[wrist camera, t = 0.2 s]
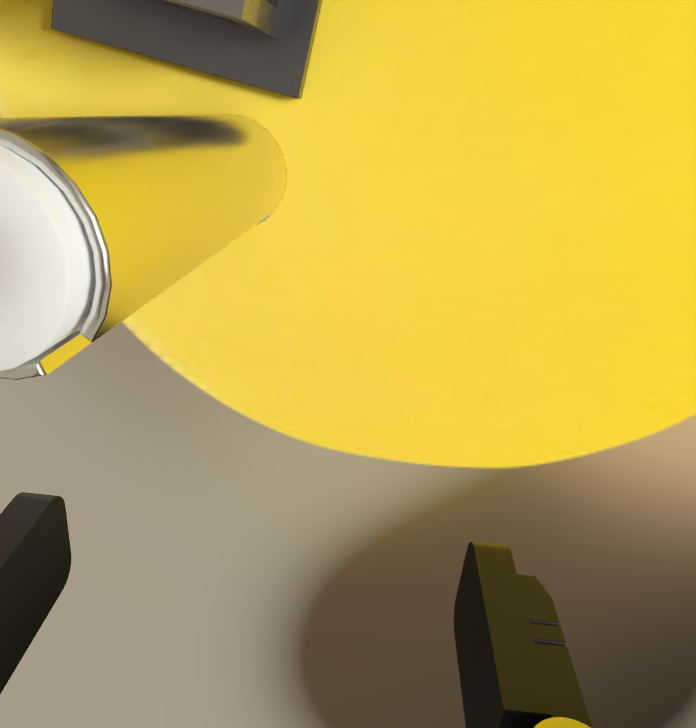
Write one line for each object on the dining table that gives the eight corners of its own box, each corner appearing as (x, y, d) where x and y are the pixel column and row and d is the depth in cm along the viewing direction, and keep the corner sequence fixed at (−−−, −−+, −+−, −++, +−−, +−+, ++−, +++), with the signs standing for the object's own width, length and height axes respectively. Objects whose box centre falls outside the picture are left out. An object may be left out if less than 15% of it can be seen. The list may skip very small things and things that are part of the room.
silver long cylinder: (189, 231, 40) (-126, 400, 16) (170, 119, 37) (-227, 130, 14) (293, 225, 39) (116, 393, 16) (280, 110, 36) (52, 107, 13)
